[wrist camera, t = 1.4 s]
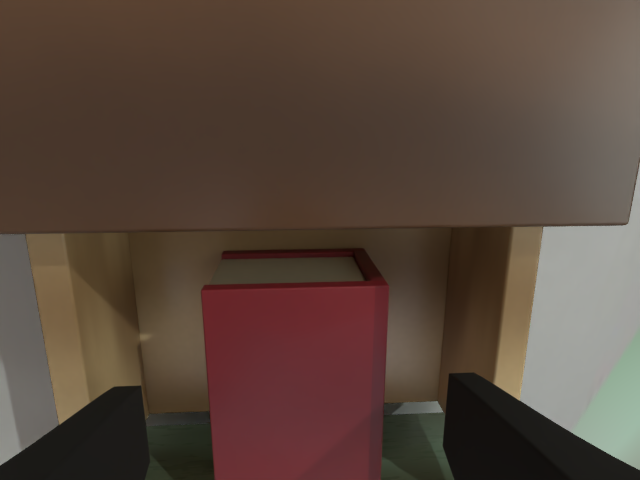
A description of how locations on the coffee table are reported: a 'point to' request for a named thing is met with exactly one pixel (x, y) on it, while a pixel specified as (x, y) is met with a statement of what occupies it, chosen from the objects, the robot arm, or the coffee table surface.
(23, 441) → the coffee table surface
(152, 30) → the cabinet
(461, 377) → the robot arm
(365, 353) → the book
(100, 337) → the drawer
